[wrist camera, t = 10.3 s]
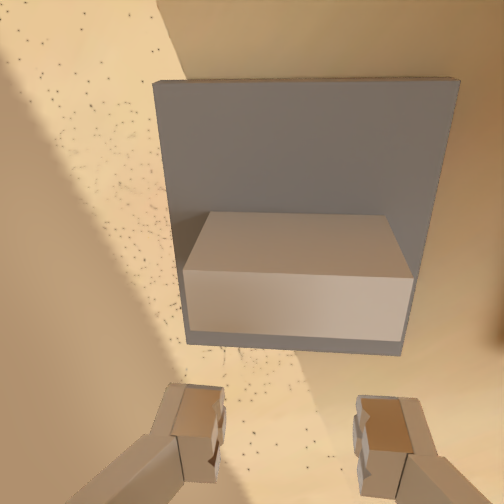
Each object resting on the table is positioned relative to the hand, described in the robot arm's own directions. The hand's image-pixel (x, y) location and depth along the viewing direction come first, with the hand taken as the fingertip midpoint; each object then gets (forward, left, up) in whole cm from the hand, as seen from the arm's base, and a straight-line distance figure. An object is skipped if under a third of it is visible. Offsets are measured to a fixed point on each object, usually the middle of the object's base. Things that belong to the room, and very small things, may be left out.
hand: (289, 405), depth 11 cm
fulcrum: (0, 0, -11) cm, 11 cm away
